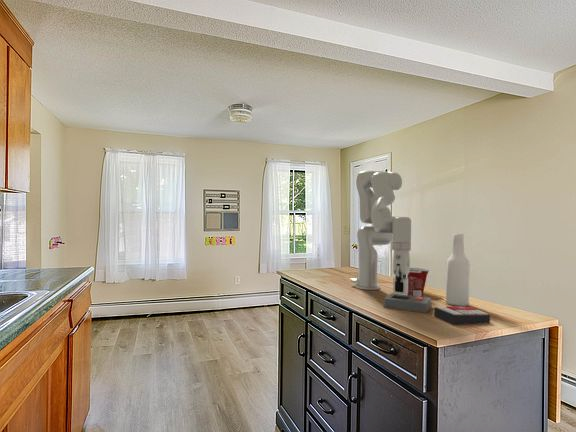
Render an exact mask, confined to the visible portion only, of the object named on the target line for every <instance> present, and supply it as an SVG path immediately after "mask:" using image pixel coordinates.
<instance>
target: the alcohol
mask: <svg viewBox="0 0 576 432" xmlns="http://www.w3.org/2000/svg"><path fill="white" fill-rule="evenodd" d="M452 238H453V240H452V241H453V242H452V252H451V253H450V254H451V255H450V256H449V257H448V258H447V261H446V276H445V277H446V279H445V281H446V283H445V285H446V286H445V292H446V293H445V302H446V304H448V306H459V307H468V305H469V304H470V261H469V260H468V257H466V255H465V248H464V247H465V245H464V234H463V233H453V237H452Z"/></svg>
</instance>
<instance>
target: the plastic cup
mask: <svg viewBox="0 0 576 432" xmlns="http://www.w3.org/2000/svg"><path fill="white" fill-rule="evenodd" d="M410 270H416V271H421V273H422V275H423V293H424V291H425V287H426V283H427V276H428V274H429V272H430V269H426V268H420V267H410Z"/></svg>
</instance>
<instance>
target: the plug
mask: <svg viewBox="0 0 576 432" xmlns="http://www.w3.org/2000/svg"><path fill="white" fill-rule="evenodd" d="M399 274H402V273H399ZM400 277H401V276H400ZM392 282H393V283H392V293H394V294H402V295H407V293H408V278H407V277H406V278H403V292H395V277H394V278H392Z"/></svg>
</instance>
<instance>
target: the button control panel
mask: <svg viewBox="0 0 576 432" xmlns="http://www.w3.org/2000/svg"><path fill="white" fill-rule="evenodd" d="M433 311H434V312H433V317H434V318H437V319H439V320H441V321H444V322H446V323H448V324H451V325H452V326H458V325H459V326H460V325H475V324H477V325H478V323H480V324H490V323H491V315H489V313H487V312H485V311H481V310H478V309H476V308H473V307H471V306H453V305H448V306H436V307H434V310H433Z"/></svg>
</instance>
